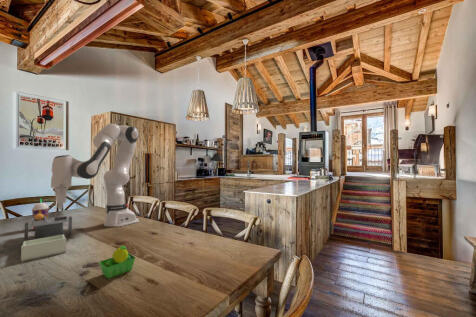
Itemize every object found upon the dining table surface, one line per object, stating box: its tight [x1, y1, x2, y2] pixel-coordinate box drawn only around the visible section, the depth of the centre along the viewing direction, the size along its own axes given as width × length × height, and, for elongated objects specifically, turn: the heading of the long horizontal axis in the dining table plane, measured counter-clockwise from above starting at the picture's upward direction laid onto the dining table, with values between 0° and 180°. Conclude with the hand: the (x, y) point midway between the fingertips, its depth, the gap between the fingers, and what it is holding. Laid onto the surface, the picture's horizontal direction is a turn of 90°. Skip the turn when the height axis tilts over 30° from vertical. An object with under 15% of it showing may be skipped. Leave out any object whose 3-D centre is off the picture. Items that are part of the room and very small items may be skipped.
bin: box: [20, 233, 67, 263], centre depth 106 cm, size 16×16×7 cm
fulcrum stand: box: [23, 215, 73, 242], centre depth 124 cm, size 20×4×11 cm, turn 132°
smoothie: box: [31, 198, 50, 231], centre depth 142 cm, size 8×8×20 cm
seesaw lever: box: [28, 215, 69, 228], centre depth 124 cm, size 16×28×4 cm, turn 42°
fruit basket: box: [98, 245, 136, 279], centre depth 87 cm, size 11×9×11 cm
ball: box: [35, 214, 44, 221], centre depth 130 cm, size 4×4×4 cm
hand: (60, 208), depth 120 cm, fingers closed
